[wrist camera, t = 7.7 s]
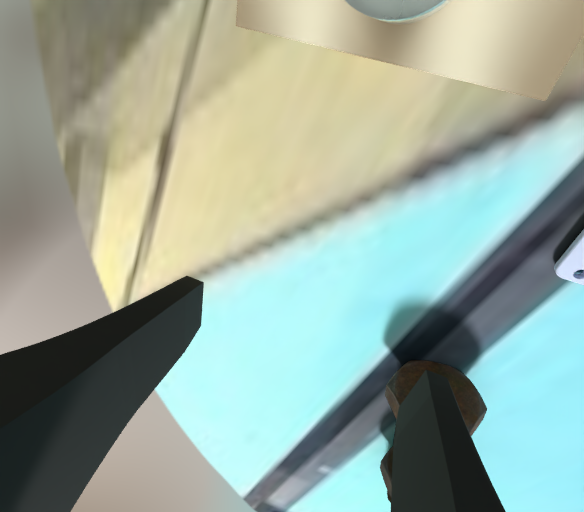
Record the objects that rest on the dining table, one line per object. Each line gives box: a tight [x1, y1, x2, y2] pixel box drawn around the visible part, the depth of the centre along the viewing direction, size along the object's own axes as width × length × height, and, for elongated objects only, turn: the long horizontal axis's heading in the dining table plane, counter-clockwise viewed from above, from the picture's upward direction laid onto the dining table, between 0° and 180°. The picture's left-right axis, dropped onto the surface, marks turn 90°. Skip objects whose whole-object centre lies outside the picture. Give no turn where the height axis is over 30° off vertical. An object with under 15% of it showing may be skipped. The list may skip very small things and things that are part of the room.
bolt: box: [380, 360, 487, 502], centre depth 25 cm, size 6×5×15 cm
